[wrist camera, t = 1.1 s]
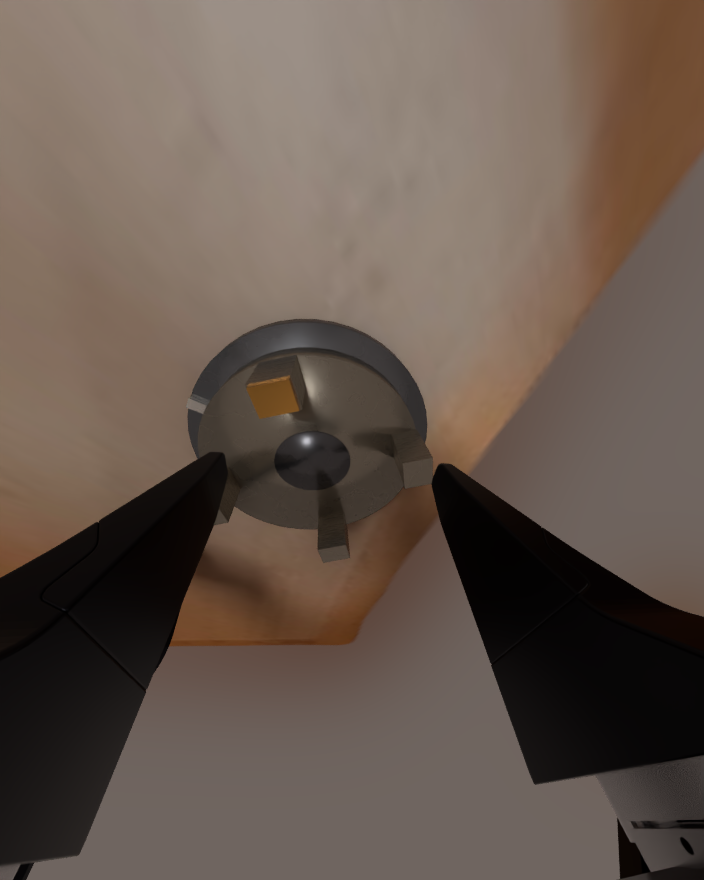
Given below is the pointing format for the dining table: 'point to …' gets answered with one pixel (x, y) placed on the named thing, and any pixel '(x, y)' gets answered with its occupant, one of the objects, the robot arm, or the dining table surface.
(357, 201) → the dining table surface
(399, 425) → the round fixture plate
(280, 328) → the base plate
